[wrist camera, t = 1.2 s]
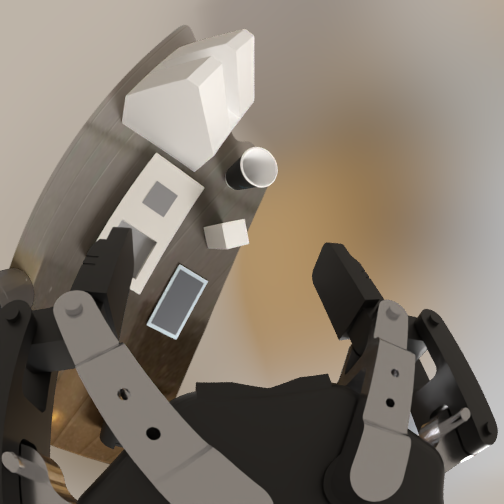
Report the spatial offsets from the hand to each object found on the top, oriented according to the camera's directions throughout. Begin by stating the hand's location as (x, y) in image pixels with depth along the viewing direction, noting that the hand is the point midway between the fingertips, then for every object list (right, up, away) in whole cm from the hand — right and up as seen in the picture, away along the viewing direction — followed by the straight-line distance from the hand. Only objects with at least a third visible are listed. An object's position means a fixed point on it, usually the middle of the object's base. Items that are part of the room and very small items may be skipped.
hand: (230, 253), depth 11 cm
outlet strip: (-20, +6, +38) cm, 44 cm away
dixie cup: (-3, +16, +47) cm, 50 cm away
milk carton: (-15, +28, +41) cm, 52 cm away
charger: (-7, +3, +46) cm, 46 cm away
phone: (-15, -10, +42) cm, 46 cm away
